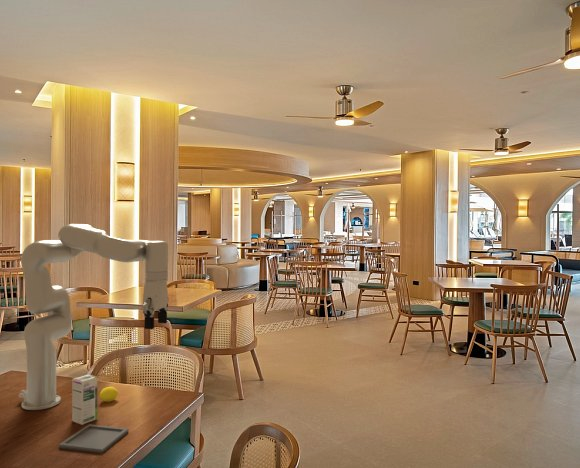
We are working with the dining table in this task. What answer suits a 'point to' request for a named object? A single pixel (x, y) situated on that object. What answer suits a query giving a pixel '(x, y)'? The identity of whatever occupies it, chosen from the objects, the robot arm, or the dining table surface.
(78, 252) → the robot arm
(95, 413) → the syrup box
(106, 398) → the lemon
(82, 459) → the dining table surface
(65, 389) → the dining table surface
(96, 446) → the slate tray
